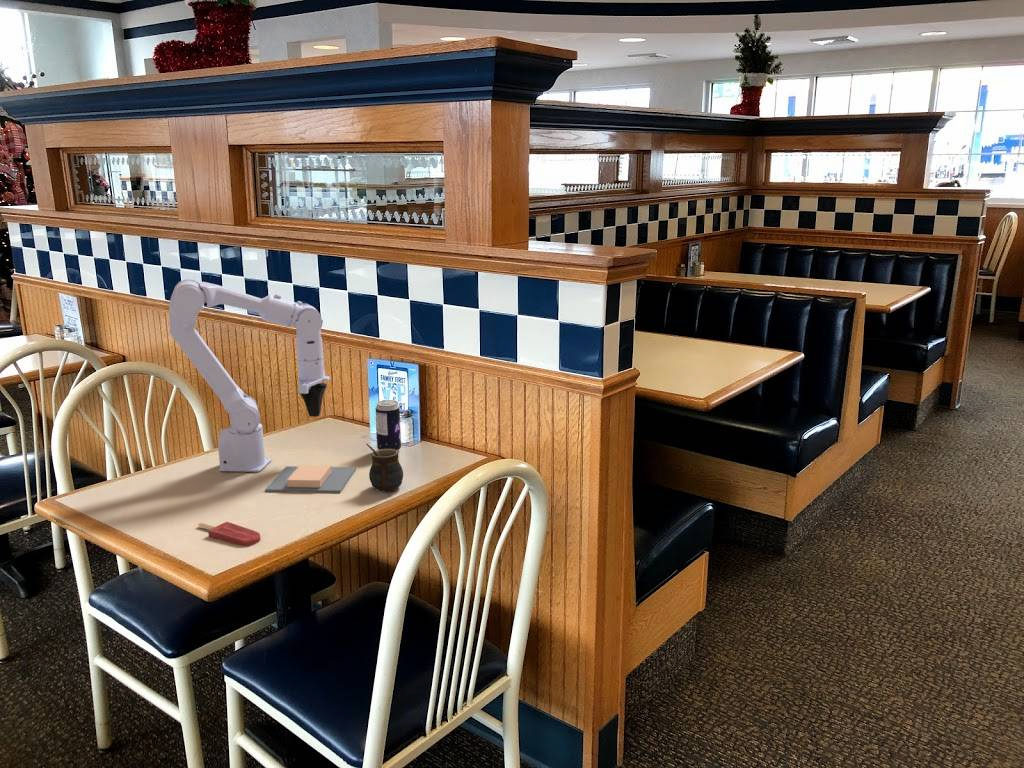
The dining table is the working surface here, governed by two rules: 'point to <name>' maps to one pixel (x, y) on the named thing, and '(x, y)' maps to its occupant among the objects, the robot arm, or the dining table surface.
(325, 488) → the slate pad
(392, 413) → the beverage can
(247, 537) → the popsicle
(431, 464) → the dining table surface
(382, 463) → the mate gourd
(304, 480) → the tile
